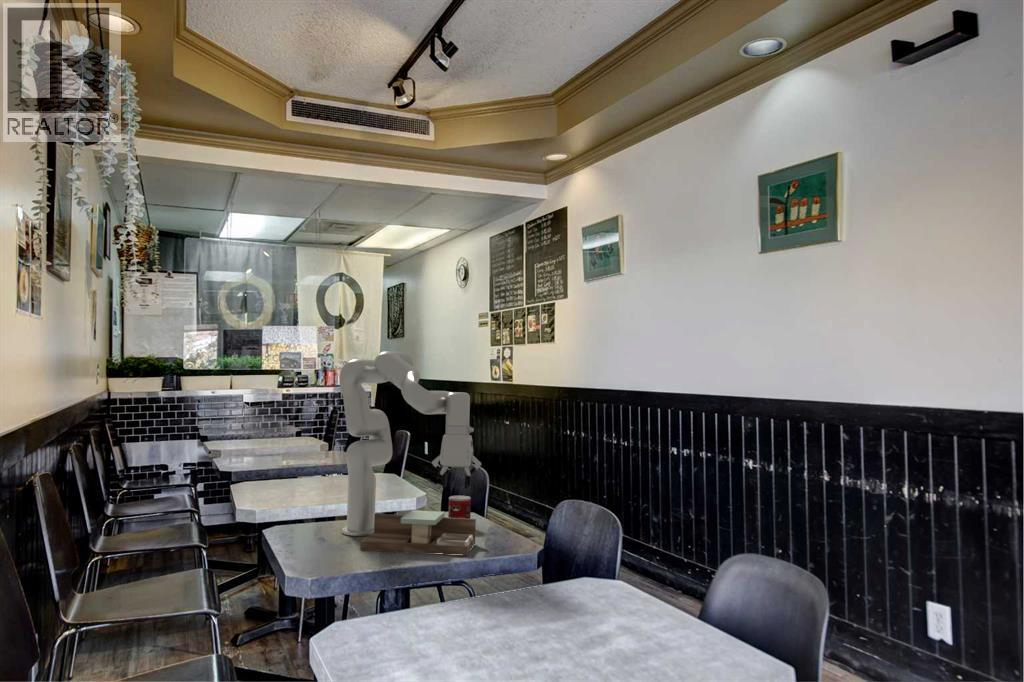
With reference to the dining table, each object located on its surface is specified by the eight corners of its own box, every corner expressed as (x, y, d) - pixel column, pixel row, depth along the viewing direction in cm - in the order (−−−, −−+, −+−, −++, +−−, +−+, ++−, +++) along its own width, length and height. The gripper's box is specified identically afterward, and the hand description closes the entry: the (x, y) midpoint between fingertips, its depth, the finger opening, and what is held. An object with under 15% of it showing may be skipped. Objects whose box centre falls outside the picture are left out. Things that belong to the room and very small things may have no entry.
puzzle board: (374, 538, 219) (375, 513, 219) (475, 544, 214) (475, 518, 215) (360, 549, 205) (360, 522, 205) (466, 556, 201) (467, 528, 201)
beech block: (415, 545, 211) (416, 520, 212) (430, 546, 211) (431, 521, 211) (411, 549, 206) (412, 524, 207) (426, 550, 206) (427, 524, 206)
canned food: (445, 526, 239) (446, 496, 240) (465, 524, 243) (466, 494, 243) (452, 531, 232) (453, 499, 233) (473, 529, 236) (474, 498, 236)
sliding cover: (412, 514, 218) (412, 510, 218) (444, 516, 216) (444, 511, 216) (400, 523, 205) (400, 518, 205) (434, 525, 203) (435, 520, 203)
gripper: (486, 431, 212) (484, 486, 211) (433, 429, 214) (432, 484, 213) (482, 432, 204) (480, 490, 203) (427, 431, 207) (426, 488, 206)
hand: (455, 487), depth 208 cm, fingers open, 6 cm apart
